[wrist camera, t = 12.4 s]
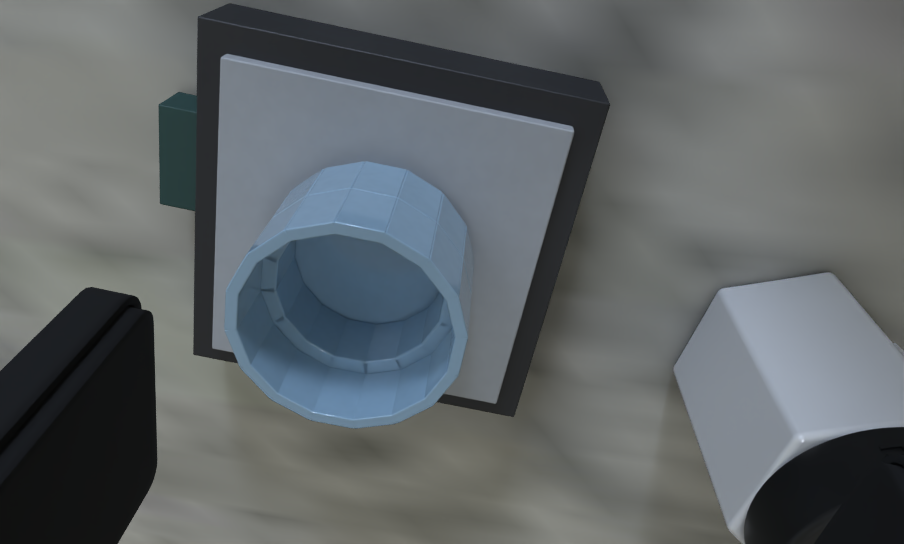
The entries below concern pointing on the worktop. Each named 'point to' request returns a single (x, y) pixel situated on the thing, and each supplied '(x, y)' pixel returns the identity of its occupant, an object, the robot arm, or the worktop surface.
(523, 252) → the scale
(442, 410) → the worktop surface
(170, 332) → the worktop surface
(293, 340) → the bowl
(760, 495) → the jar
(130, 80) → the worktop surface
